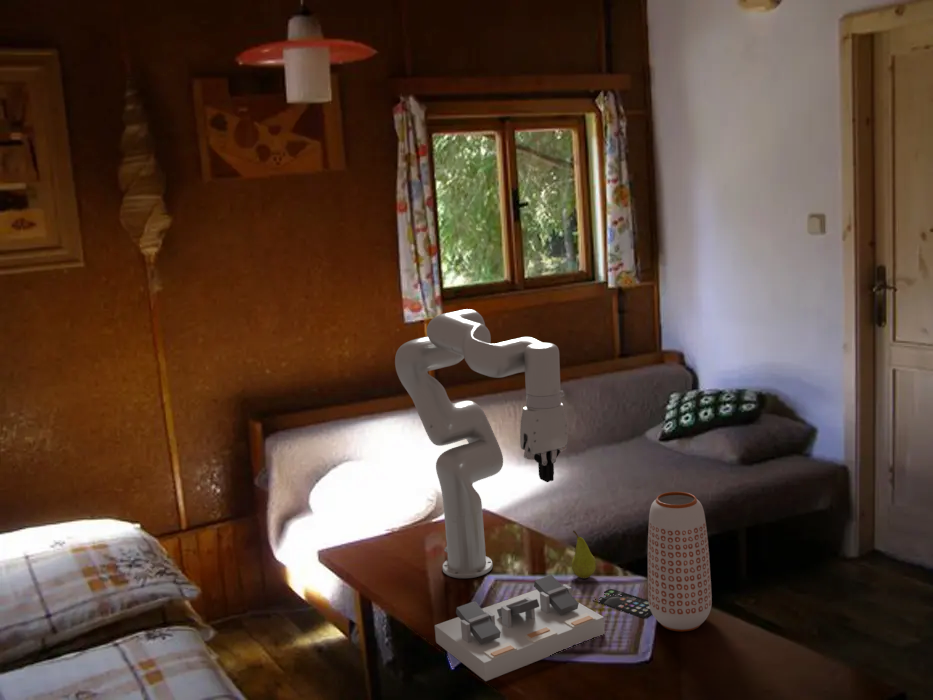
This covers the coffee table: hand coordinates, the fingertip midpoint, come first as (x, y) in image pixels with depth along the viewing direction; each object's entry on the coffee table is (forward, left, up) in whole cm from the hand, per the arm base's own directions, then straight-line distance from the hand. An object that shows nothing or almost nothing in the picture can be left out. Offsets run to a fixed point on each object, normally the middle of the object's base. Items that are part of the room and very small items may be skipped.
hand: (546, 479), depth 218 cm
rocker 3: (+7, -4, -23) cm, 25 cm away
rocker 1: (+7, -24, -23) cm, 35 cm away
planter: (+23, +17, -31) cm, 42 cm away
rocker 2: (+7, -14, -23) cm, 28 cm away
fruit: (-8, +15, -31) cm, 35 cm away
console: (+7, -14, -30) cm, 34 cm away
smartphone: (+9, +14, -31) cm, 35 cm away
